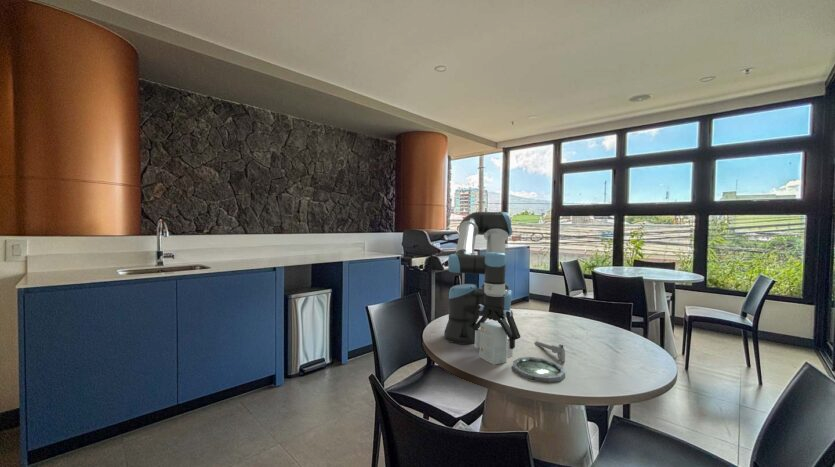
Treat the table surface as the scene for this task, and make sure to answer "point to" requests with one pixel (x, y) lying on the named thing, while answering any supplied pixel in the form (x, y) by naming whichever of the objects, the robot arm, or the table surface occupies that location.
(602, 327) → the table surface
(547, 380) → the steel bowl
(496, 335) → the small box
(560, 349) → the caliper
